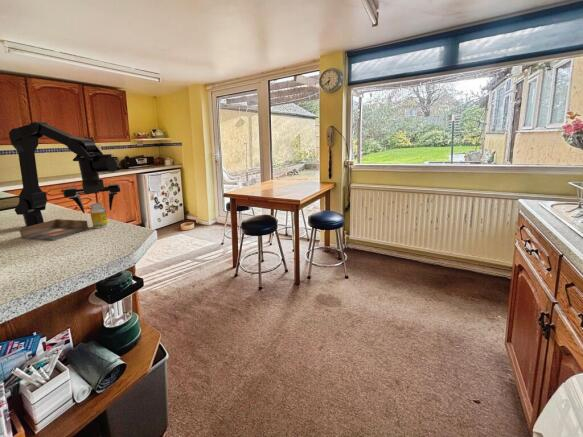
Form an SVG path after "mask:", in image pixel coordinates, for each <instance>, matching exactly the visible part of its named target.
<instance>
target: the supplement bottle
mask: <svg viewBox="0 0 583 437" xmlns="http://www.w3.org/2000/svg"><path fill="white" fill-rule="evenodd" d="M90 208H91V209H90V211H89V213H90V218H91V223H92V227H93V228H94V229H103V228H107V227H108V226H109V221H108V217H107V211H106V208H105V207H103V202H95V203H90Z"/></svg>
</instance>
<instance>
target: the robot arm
mask: <svg viewBox="0 0 583 437" xmlns="http://www.w3.org/2000/svg"><path fill="white" fill-rule="evenodd" d="M8 137H9V139H10V144H11V145H12V147H13V148H14V149H15V150H16V152H17V155H18V160H19V168H20V174H21V181H22V188H21V191H20V193H19V196H18V199H19V200H18V204H17V205H16V207H15V208H14V212H15V214H16V215H17V216H18V215H19V216H21V215H22V217H23V221H24V224H25V225H23V226H21V228H25V227H29V226H33V225H36V224H40V223H44V222H45V220H44V217H43V215H42V211H45V210H46V207H47V206H46V205H47V202H48V197H47V195H48V194H47V192H46V191H43V190H42V189H41V188H40V185H39V177H38V176H39V175H38V169H37V161H36V154H35V152H36V150H37V148H38V147H39V139H41V138H43V137H46V138H49V139H50V140H53V141H55V142H58V143H59V144H62V145H65V146H66V147H67V148H68V150H69V151H71V153H73V154H75V157H74V158H73V159H72V161H73V162H78V166H79V172H80V174H81V179H82V180H81V182H82V183H81V185H82V188H78V187H67V188H65V189H64V190H63V197H64V198H68V199H69V200H72V201H74V202H75V203H76V205H77V207H79V209H80V210H81V211H82V213H83V214H85V212H86V211H85V208H84V204H83V201H82V198H81V195H82V194H85V195H90V194H99V193H102V192H108V202H109V205H108V206H109V210H110V211H112V207H113V206H112V205H113V200H114V197H115V196H116V195H118V193H121V185H120V184H119V183H111V184H110V183H109V184H107V185H108V186H105V183H104V180H103V179H100V174H99V173H114V172H116V171H117V170H118V162H117V160H116V158H114V157H112V155H113V154H111V153H107V154H106V153H105V154H104V153H103V152H102V151H101V149H100V148H98V146H97V145H96V142H95V141H94V140H92V139H89V138H86V137H83V136H81V137H80V136H76V135H72V134H70V133H69V132H66V131H63V130H61V129H60V128H57V127H55V126H53V125H50V124H49V123H48V122H45V121H44V122H43V121H33V122H30V123H28V124H26V125H22V126H19V127H17V128H15V127H14V128H13V127H12V129H11V130H9V132H8ZM80 194H81V195H80Z"/></svg>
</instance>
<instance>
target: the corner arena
mask: <svg viewBox="0 0 583 437" xmlns="http://www.w3.org/2000/svg"><path fill="white" fill-rule="evenodd" d="M88 230H89V226H88V220H82V219H81V220H79V219H64V218H62V219H61V218H56V219H53V220H52V219H51V220H48V221H44V223H40V224H36V225H33V226H29V227H25V228H22V227H21V228H19V233H20V236H21V239H29V240H40V241H41V240H42V241H52V242H53V241H57V240H60V239H62V238H65V237H68V236H71V235H75V234H78V233H81V232H84V231H88Z"/></svg>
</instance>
